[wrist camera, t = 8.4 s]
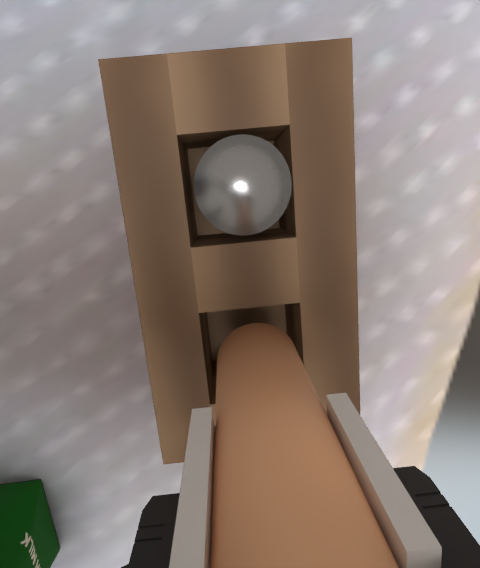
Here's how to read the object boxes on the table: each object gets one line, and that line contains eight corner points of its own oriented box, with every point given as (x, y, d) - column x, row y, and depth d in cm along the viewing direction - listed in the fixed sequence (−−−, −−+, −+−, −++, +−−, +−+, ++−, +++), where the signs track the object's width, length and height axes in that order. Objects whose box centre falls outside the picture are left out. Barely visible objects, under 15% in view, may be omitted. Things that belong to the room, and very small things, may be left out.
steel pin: (208, 222, 26) (199, 240, 16) (201, 160, 25) (188, 139, 15) (267, 217, 26) (294, 230, 16) (262, 155, 25) (288, 130, 15)
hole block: (176, 402, 30) (163, 464, 23) (132, 96, 25) (98, 59, 18) (329, 386, 30) (360, 442, 23) (316, 80, 25) (351, 37, 18)
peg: (221, 401, 21) (218, 841, 7) (212, 327, 20) (186, 659, 6) (299, 392, 22) (459, 808, 7) (294, 318, 21) (469, 624, 6)
